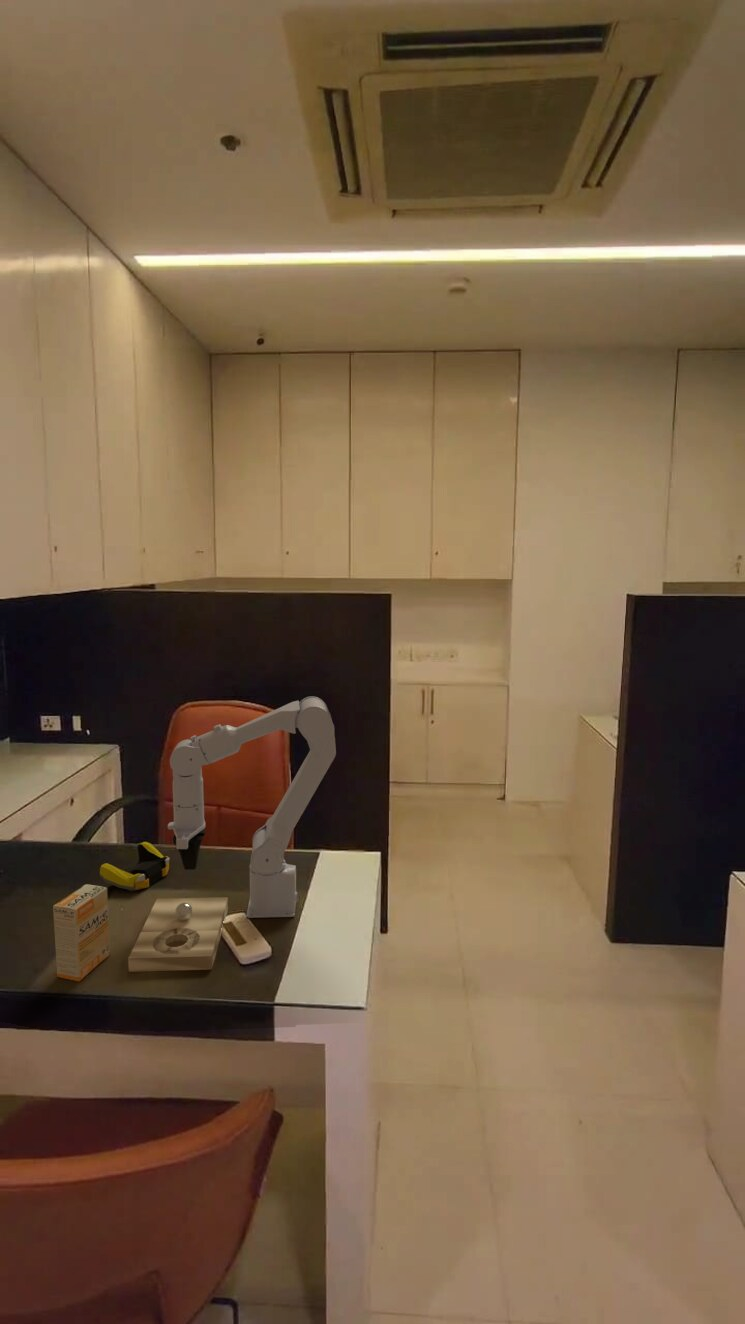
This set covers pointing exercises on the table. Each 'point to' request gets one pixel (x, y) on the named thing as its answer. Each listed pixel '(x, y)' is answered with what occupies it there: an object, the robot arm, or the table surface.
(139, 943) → the beige flat block
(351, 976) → the table surface
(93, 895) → the supplement box
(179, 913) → the ball
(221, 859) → the table surface
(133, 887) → the gaming controller
